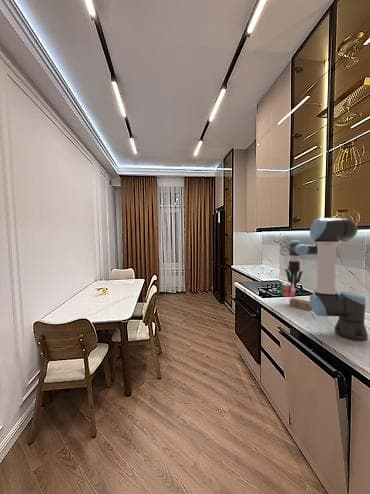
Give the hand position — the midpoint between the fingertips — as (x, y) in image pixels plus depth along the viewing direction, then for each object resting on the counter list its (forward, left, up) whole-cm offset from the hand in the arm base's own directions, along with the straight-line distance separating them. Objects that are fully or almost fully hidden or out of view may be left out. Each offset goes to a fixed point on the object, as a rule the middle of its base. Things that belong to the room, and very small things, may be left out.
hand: (293, 291), depth 183 cm
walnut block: (0, +1, -8) cm, 8 cm away
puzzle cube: (+24, +16, -11) cm, 31 cm away
